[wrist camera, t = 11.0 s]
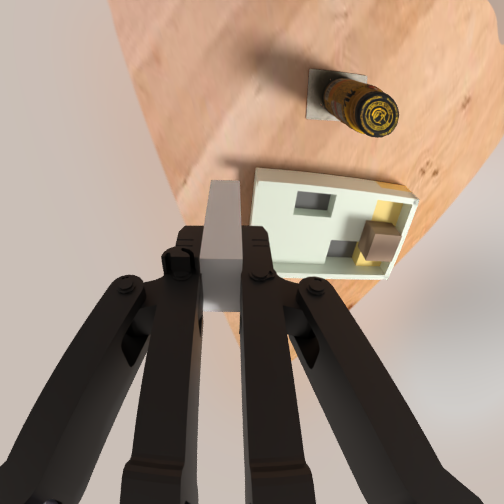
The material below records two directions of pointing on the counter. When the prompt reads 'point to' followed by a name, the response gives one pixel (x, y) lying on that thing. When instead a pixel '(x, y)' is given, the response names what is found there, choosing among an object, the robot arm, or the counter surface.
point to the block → (379, 241)
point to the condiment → (350, 102)
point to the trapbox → (326, 221)
